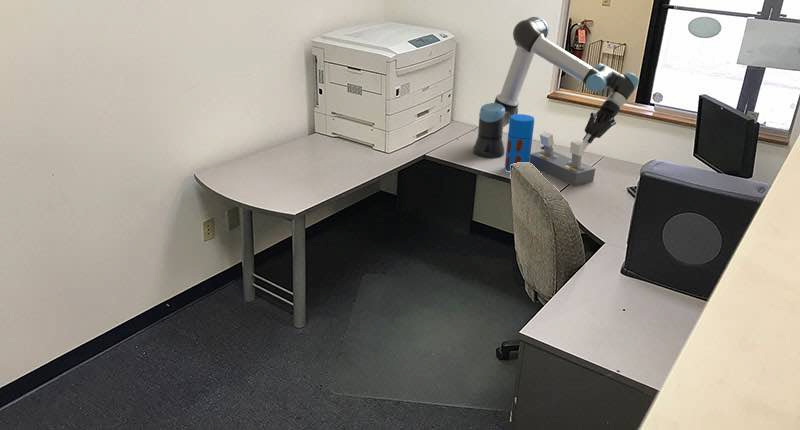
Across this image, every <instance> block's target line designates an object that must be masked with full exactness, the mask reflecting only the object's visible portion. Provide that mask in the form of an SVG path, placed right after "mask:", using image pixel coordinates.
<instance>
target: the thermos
mask: <svg viewBox="0 0 800 430" xmlns="http://www.w3.org/2000/svg"><path fill="white" fill-rule="evenodd" d="M534 127H535V117H534V116H532V115H529V114H525V113H524V114H523V113H522V114H521V113H518V114H515V115H512V116H511V117H510V122H509V124H508V131H507V132H508V133H507V142H506V153H505V163H504V170H505V169H506V170H507V171H510V165H511V164H513V163H517V162H530V154H532V153H531V152H532V143H533V135H534Z"/></svg>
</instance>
